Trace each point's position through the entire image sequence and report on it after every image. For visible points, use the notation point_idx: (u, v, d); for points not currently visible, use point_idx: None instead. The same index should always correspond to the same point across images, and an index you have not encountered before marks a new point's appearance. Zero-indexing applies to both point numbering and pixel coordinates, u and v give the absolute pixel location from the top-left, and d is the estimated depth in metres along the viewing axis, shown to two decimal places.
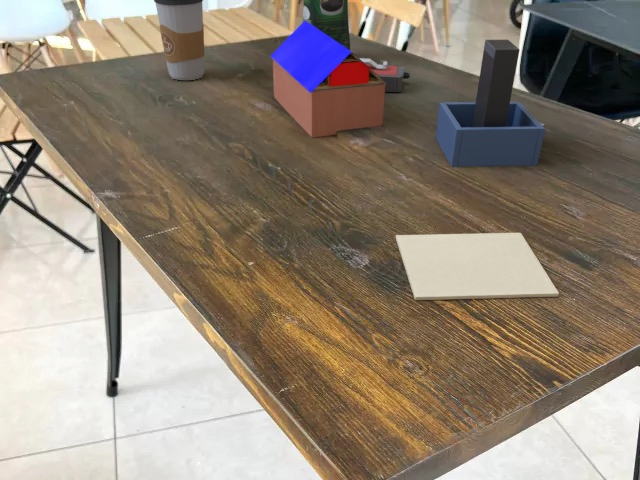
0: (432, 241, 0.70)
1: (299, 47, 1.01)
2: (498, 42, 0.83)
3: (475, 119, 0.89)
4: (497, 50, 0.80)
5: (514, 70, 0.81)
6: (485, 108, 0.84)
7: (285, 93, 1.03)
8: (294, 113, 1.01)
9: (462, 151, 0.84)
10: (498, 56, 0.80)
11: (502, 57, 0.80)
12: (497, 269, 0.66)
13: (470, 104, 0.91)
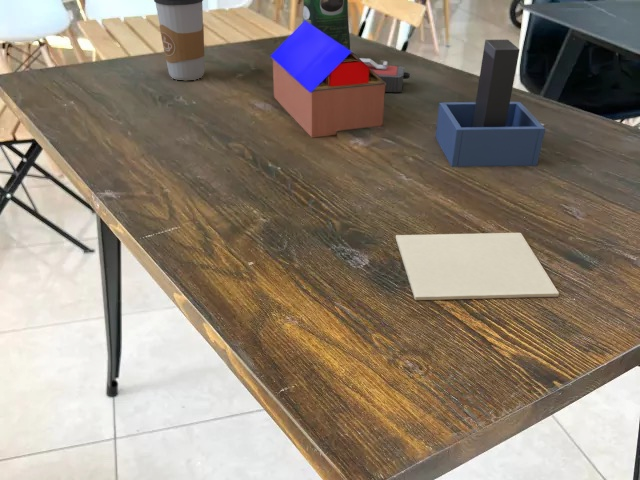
0: (432, 241, 0.70)
1: (299, 47, 1.01)
2: (498, 42, 0.83)
3: (475, 119, 0.89)
4: (497, 50, 0.80)
5: (514, 70, 0.81)
6: (485, 108, 0.84)
7: (285, 93, 1.03)
8: (294, 113, 1.01)
9: (462, 151, 0.84)
10: (498, 56, 0.80)
11: (502, 57, 0.80)
12: (497, 269, 0.66)
13: (470, 104, 0.91)
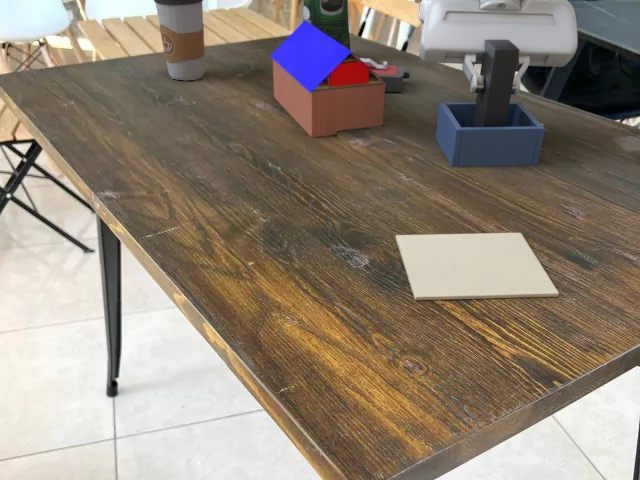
0: (432, 241, 0.70)
1: (299, 47, 1.01)
2: (498, 42, 0.83)
3: (475, 119, 0.89)
4: (497, 50, 0.80)
5: (514, 70, 0.81)
6: (485, 108, 0.84)
7: (285, 93, 1.03)
8: (294, 113, 1.01)
9: (462, 151, 0.84)
10: (498, 56, 0.80)
11: (502, 57, 0.80)
12: (497, 269, 0.66)
13: (470, 104, 0.91)
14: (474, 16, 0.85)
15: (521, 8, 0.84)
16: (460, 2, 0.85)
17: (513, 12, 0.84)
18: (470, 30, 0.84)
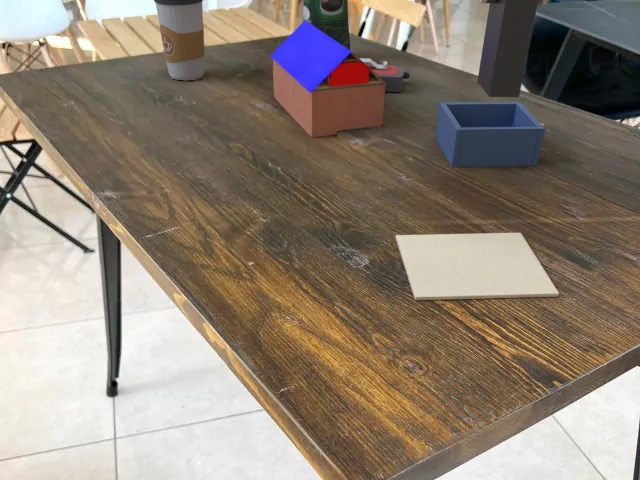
0: (432, 241, 0.70)
1: (299, 47, 1.01)
2: None
3: (486, 44, 0.64)
4: None
5: None
6: (500, 22, 0.59)
7: (285, 93, 1.03)
8: (294, 113, 1.01)
9: (462, 151, 0.84)
10: None
11: None
12: (497, 269, 0.66)
13: (470, 104, 0.91)
14: None
15: None
16: None
17: None
18: None
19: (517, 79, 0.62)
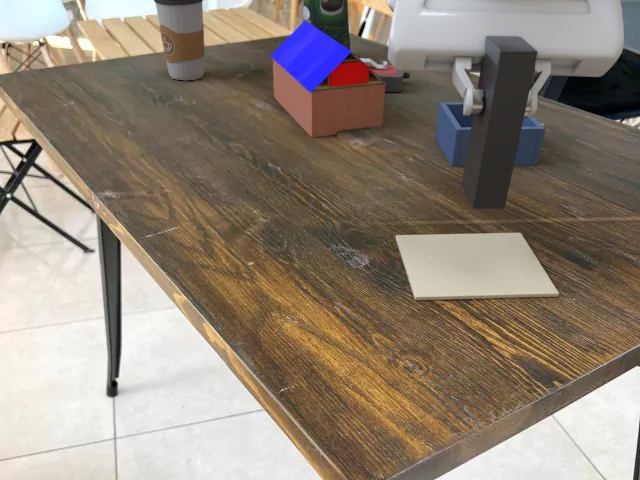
0: (432, 241, 0.70)
1: (299, 47, 1.01)
2: (505, 40, 0.55)
3: (470, 152, 0.61)
4: (503, 52, 0.52)
5: (529, 83, 0.53)
6: (484, 138, 0.56)
7: (285, 93, 1.03)
8: (294, 113, 1.01)
9: (462, 151, 0.84)
10: (505, 61, 0.52)
11: (511, 63, 0.52)
12: (497, 269, 0.66)
13: None
14: (469, 2, 0.57)
15: None
16: None
17: None
18: (463, 22, 0.56)
19: (502, 192, 0.59)
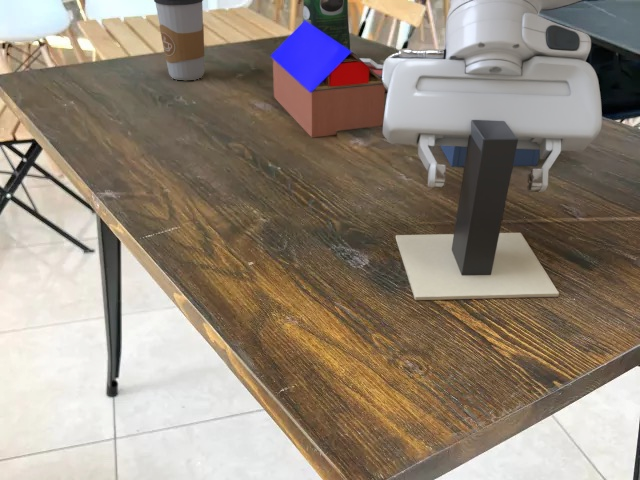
0: (432, 241, 0.70)
1: (299, 47, 1.01)
2: (489, 125, 0.59)
3: (458, 222, 0.65)
4: (486, 140, 0.56)
5: (510, 166, 0.58)
6: (471, 214, 0.61)
7: (285, 93, 1.03)
8: (294, 113, 1.01)
9: (462, 151, 0.84)
10: (488, 148, 0.57)
11: (493, 149, 0.57)
12: (497, 269, 0.66)
13: None
14: (458, 84, 0.61)
15: (523, 72, 0.61)
16: (438, 63, 0.61)
17: (512, 78, 0.61)
18: (452, 103, 0.61)
19: (489, 260, 0.64)
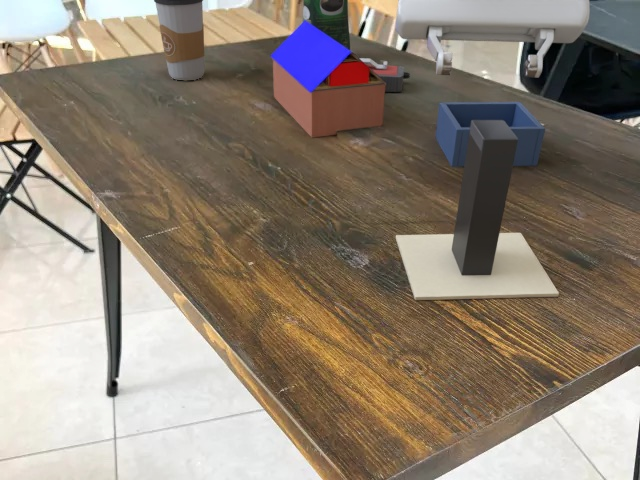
0: (432, 241, 0.70)
1: (299, 47, 1.01)
2: (489, 125, 0.59)
3: (458, 222, 0.65)
4: (486, 140, 0.56)
5: (510, 166, 0.58)
6: (471, 214, 0.61)
7: (285, 93, 1.03)
8: (294, 113, 1.01)
9: (462, 151, 0.84)
10: (488, 148, 0.57)
11: (493, 149, 0.57)
12: (497, 269, 0.66)
13: (470, 104, 0.91)
14: None
15: None
16: None
17: None
18: None
19: (489, 260, 0.64)
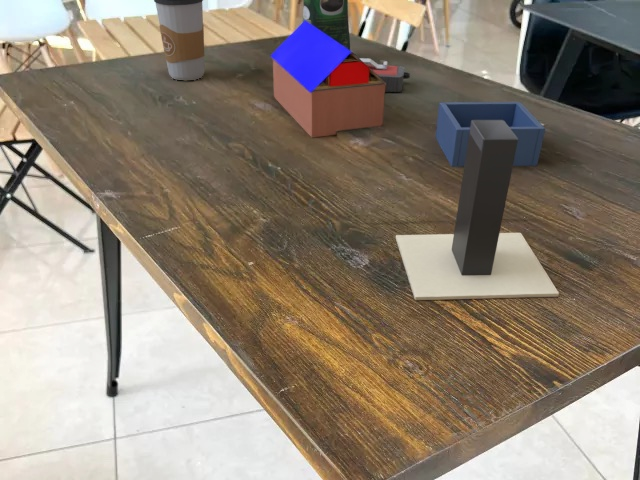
0: (432, 241, 0.70)
1: (299, 47, 1.01)
2: (489, 125, 0.59)
3: (458, 222, 0.65)
4: (486, 140, 0.56)
5: (510, 166, 0.58)
6: (471, 214, 0.61)
7: (285, 93, 1.03)
8: (294, 113, 1.01)
9: (462, 151, 0.84)
10: (488, 148, 0.57)
11: (493, 149, 0.57)
12: (497, 269, 0.66)
13: (470, 104, 0.91)
14: None
15: None
16: None
17: None
18: None
19: (489, 260, 0.64)
